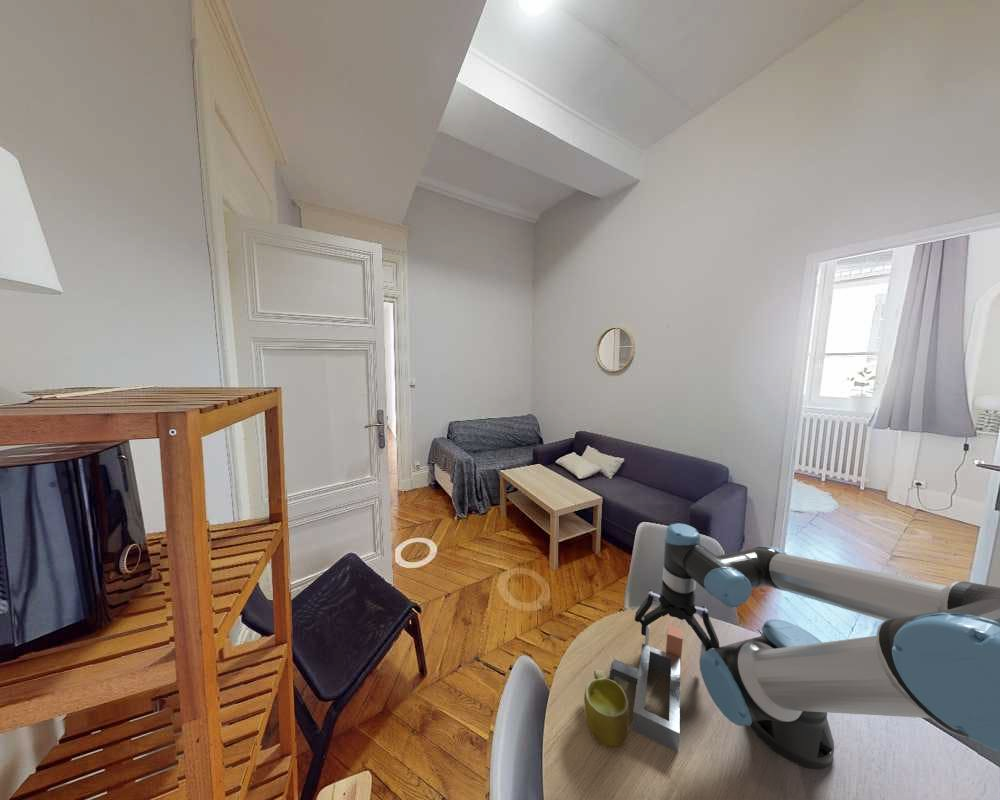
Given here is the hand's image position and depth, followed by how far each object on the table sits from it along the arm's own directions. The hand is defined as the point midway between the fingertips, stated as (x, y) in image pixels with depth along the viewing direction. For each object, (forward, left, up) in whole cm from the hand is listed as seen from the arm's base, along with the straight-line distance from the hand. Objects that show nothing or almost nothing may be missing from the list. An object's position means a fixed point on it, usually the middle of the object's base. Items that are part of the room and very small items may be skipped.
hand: (673, 655), depth 88 cm
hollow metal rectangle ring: (+6, +12, -3) cm, 14 cm away
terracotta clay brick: (0, 0, -3) cm, 3 cm away
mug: (+13, +22, -3) cm, 26 cm away
